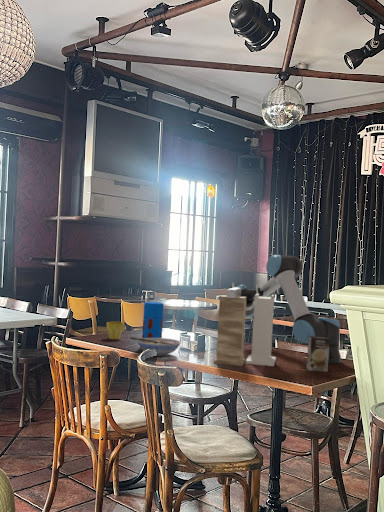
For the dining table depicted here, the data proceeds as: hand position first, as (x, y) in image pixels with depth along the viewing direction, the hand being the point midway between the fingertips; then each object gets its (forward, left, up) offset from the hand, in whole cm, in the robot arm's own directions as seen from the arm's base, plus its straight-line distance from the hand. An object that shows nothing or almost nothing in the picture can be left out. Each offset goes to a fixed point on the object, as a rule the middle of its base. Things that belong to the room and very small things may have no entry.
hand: (244, 285), depth 317 cm
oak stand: (-17, +28, -38) cm, 50 cm away
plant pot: (+70, +36, -38) cm, 87 cm away
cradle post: (-24, +11, -38) cm, 46 cm away
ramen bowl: (+15, +48, -38) cm, 63 cm away
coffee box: (-52, +3, -38) cm, 65 cm away
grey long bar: (-16, +26, -5) cm, 30 cm away
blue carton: (+35, +36, -38) cm, 63 cm away
